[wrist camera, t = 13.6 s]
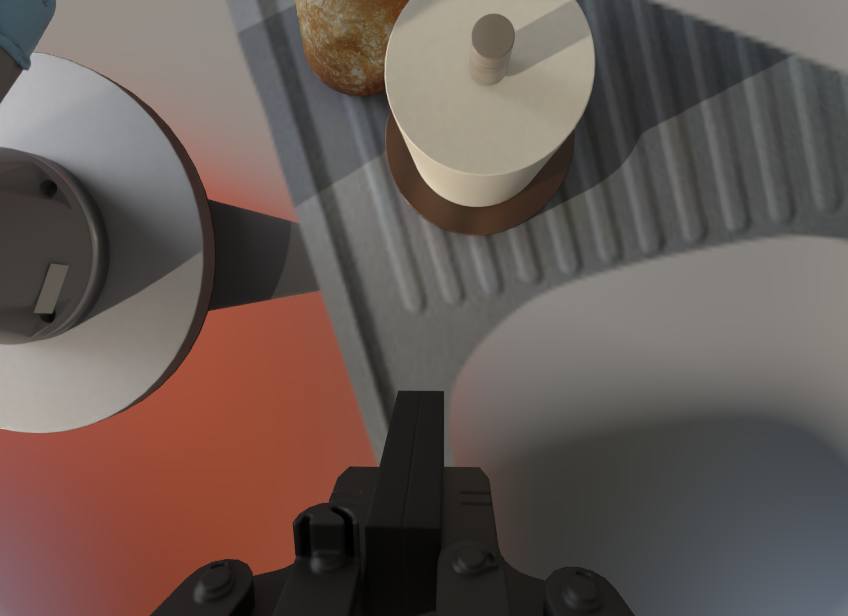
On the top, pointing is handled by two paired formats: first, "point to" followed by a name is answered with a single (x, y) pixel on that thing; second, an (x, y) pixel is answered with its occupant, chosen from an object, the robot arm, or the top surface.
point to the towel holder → (487, 69)
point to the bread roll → (348, 41)
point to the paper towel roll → (487, 93)
